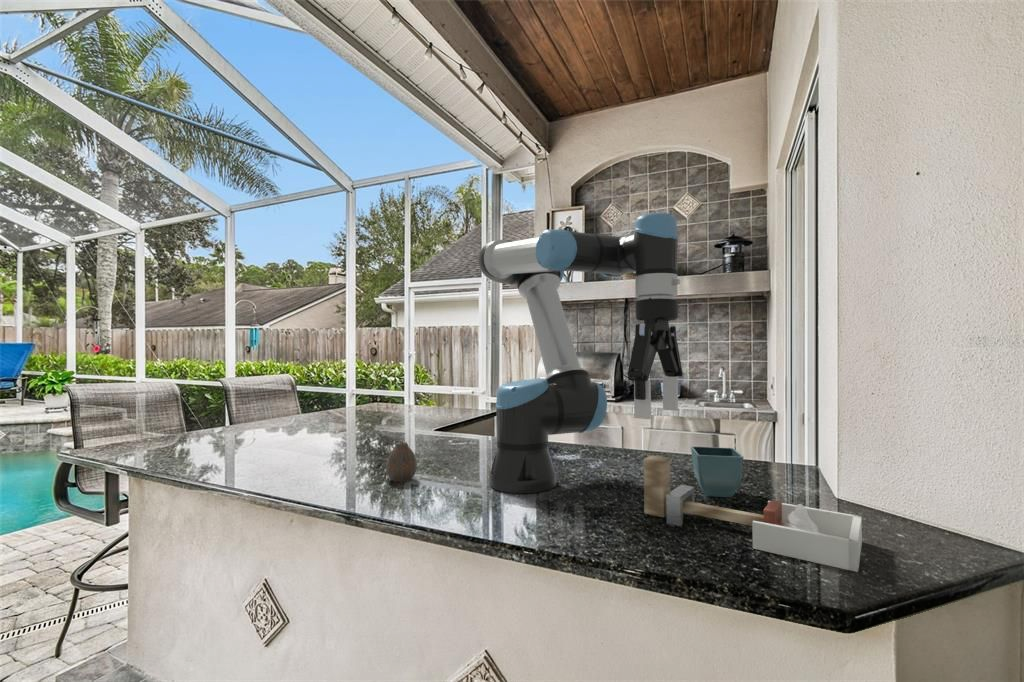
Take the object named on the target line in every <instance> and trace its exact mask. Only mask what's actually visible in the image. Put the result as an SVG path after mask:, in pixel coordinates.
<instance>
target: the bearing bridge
mask: <svg viewBox="0 0 1024 682" xmlns="http://www.w3.org/2000/svg"><path fill="white" fill-rule="evenodd" d="M683 500H684V501H690V502H695V486H691V485H684V484H680V485H678V486H677V487H675V488H674V489H673V490H671V492H669V493H668V494H666V506H667V515H666V524H667V525H673V526H677V527H682V525H684V521H683V520H684V515H685V516H690V517H691V516H692V517H693V516H694V515H695V514H690V513H685V512H683Z"/></svg>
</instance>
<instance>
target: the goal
mask: <svg viewBox="0 0 1024 682" xmlns="http://www.w3.org/2000/svg"><path fill="white" fill-rule="evenodd" d="M770 501H771V500H768V501H767V504H768V503H769V502H770ZM797 505H798V504H792V503H791V504H790V503H785V502H784V503H783V502H782V523H783V522H784V521H785V520H786V519H787V516H788V515H789V514H790V513H792V512H793V511H794V510H795V507H796V506H797ZM804 508H806V509H807V513H808V516H809V517H810V519H811V521H812V522H813V523H814V524H815V525H816V526H817V528H818V531H817V532H819V533H816V532H811V531H806V530H800V529H795V528H790V527H785V526H780V525H775V524H769V523H764V522H759V521H754V520H753V522H752V526H751V529H752V549H755V550H758V551H762V552H767V553H772V554H776V555H779V556H780V555H781V556H785V557H789V558H793V559H797V560H803V561H808V562H812V563H815V564H820V565H823V566H829V567H833V568H837V569H842V570H845V571H846V570H847V571H850V572H851V571H852V572H855V573H858V572H859V570H860V569H859V567H860V561H861V553H862V545H863V528H862V527H863V526H862V525H863V523H862V522H863V521H862V518H863V517H862V515H857V514H850V513H844V512H838V511H831V510H827V509H821V508H815V507H808V506H804Z"/></svg>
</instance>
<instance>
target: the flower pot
mask: <svg viewBox="0 0 1024 682" xmlns="http://www.w3.org/2000/svg"><path fill="white" fill-rule="evenodd" d="M690 451H691V458H692V468H693V472H694V475H695V479H696V482H697V484H698V485H699V487H700V489H701V491H702V492H703V494H704V495H705V497H714V498H715V497H717V498H732V497H733V496H734V495H735V494H736V492H737V490H738V488H739V486H740V484H741V480H742V474H743V467H744V466H743V465H744V458H745V457H744V456H743V455H742V454H741V453H739V451H737V450H736V449H735V448H734V447H716V446H715V447H714V446H690Z"/></svg>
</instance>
